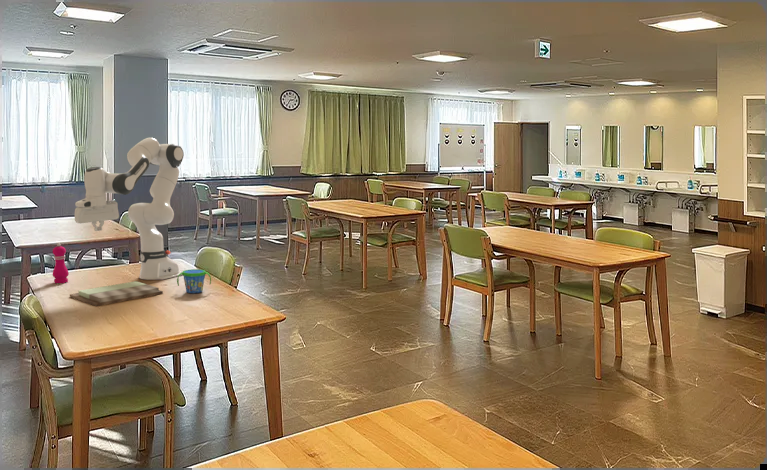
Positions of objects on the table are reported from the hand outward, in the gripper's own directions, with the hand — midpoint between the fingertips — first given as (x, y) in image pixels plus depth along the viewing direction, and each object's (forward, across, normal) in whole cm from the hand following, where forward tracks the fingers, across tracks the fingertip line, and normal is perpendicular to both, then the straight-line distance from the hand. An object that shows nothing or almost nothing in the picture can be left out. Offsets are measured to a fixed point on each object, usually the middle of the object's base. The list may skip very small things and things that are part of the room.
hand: (98, 230), depth 310 cm
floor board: (+28, +2, +17) cm, 33 cm away
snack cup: (+29, -26, +38) cm, 54 cm away
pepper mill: (+29, +6, -30) cm, 42 cm away
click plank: (+27, +2, +14) cm, 30 cm away
